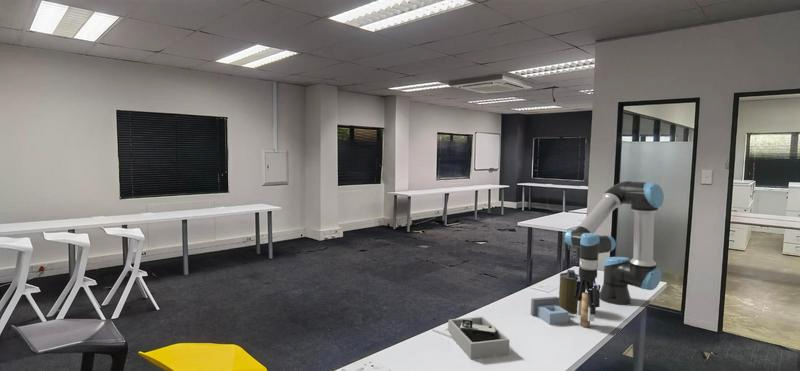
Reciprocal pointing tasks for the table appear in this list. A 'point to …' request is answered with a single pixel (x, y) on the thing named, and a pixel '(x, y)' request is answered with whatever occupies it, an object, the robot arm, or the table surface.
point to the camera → (478, 331)
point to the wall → (542, 303)
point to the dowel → (585, 311)
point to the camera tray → (478, 348)
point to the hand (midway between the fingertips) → (585, 317)
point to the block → (552, 314)
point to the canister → (568, 291)
